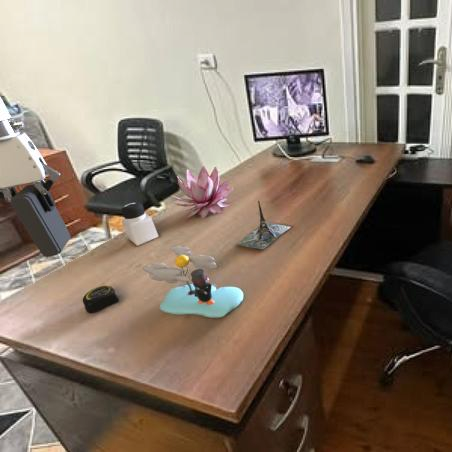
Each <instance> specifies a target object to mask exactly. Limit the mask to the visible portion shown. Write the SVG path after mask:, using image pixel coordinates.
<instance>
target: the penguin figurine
mask: <svg viewBox="0 0 452 452" xmlns="http://www.w3.org/2000/svg"><path fill="white" fill-rule="evenodd" d="M170 251H172V252H173V253H174V255H175V256H176V257H175V259H174V265H176V267H172V266H167V265H166V264H165V263H162V262H159V263H152V264H151V265H145V266H142V270H143V272H145V273H148V274H149V278H150V279H151V280H154V281H157V282H159V281H160V282H162V281H163V282H166V283H168V284H175V283H179V285H181V286H176V287H172V288H171V289H170V290H169V291H168V292H167V294H166V295H165V297H164V299H163V301H162V302H161V304H160V305H159V310H161V311H162V312H164V313H167V314H171V315H176V316H177V315H179V316H181V315H200V316H203V317H206V318H211V319H213V318H215V319H216V318H224V317H225V316H226V315H227V314H229V313H230V312H231V311H233V310H235V309H236V308H237V307H238V306H239V305H240V304H241V303H242V302H243V300H244V292H243V291H242V290H241V289H240V288H239V287H235V286H222V285H221V286H219V288H216V286H217V285H216V284H215V283H211V282H209V281H210V279H209V276H207V275H206V273H205V270H204V269H208V270H215V269H217V268H218V269H222V267H221V266H219V265H217V263H216V262H215V259H214V257H212V256H211V255H203V254H192V252H191V251H190V249H189V247H187V246H181V245H173V246H171V248H170ZM190 262H191V263H192V264H193V266H194V267H195V268H197V269H194V270H191V269H190V268H189V267H188V265H189V264H190ZM177 267H178V268H177ZM185 267H186V271H185V270H184V268H185ZM190 271H191V272H190ZM189 272H190V277H191V278H190V277H189V276H188V275H187V274H188V273H189ZM190 281H191V283H189V282H190ZM183 282H186V284H183Z"/></svg>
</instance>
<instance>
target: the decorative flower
mask: <svg viewBox="0 0 452 452" xmlns="http://www.w3.org/2000/svg"><path fill="white" fill-rule="evenodd" d="M176 177H177V183H178V186H179V188H180V190H181V192H182V193H183V194H184V195H185V196H186V197H188V198H183V197H178V196H175V195H173V194H172V195H171V194H170V196H171V197H172V198H174V199H176V200H178V201H181V202H184V204H183V203H176V202H174V203H173V204H174V205H175V206H180V207H191V208H188V209H186V210H184V212H190V211H192V212H191V213H190V214H189V215H188V216H187V217H186V219H187V218H190V217H193V216H194V215H196V214H197V213H198V216H200V218H201V220H203V219H204V218H206V217H207V216H208V215H209V212H211V213H212V214H214V215H216V214H223V210H222V208H226V207H230V206H232V204H231V203H229V202H226V201H227V200H228V198H226V197H228V196H229V195H230V194H231V193H232V192H233V190H234V189H235V186H233V187H230V188H228V185H229V181H230V180H229V179H227V180H225V181H224V182H222V183H221V184H220V175H219V171H218V168H217V166H214V167H213V170H212V171H211V173H210V174H209V172H208V171H207V168H206V167H205V165H202V166H201V169H200V170H199V173H198V176H197V179H196V178H195V176H194V174H193V173H192V172H191V171H190V170H189V169H187V170H186V183H187V185H186V184H184V182H183V181H182V180H181V179H180V178H179V176H178V175H177V176H176ZM227 188H228V189H227ZM186 203H187V204H186Z"/></svg>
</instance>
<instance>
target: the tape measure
mask: <svg viewBox="0 0 452 452" xmlns="http://www.w3.org/2000/svg"><path fill="white" fill-rule="evenodd" d="M82 303H83V306H84V309H85V312H86V313H87V314H90V315H91V314H96V313H98V312H100V311H102V310H104V309H106V308H108V307H110V306H112V305H115V304H118V303H120V299H119V297H118V295H117V293H116V290H115V289H114V287H112V286H110V285H101V286H97V287H94V288H93V289H91V290H89V291H88V292H86V293H85V295H84V296H83V298H82Z"/></svg>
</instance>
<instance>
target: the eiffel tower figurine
mask: <svg viewBox="0 0 452 452" xmlns="http://www.w3.org/2000/svg"><path fill="white" fill-rule="evenodd" d="M257 200H258V201H257V204H258V211H259V225H258V227H256V228H255V229H254V230H253V231H252V232H250V233H249V234H248V235H246V236H245V237H244V238H243V239H242V240H241V241H239V242H238V243H237V244H236V245H237V246H241V247H247V248H254V249H259V250H265V249H266V248H267V247H269V246H270V245H271V244H273V243H274V242H275V241H276V240H277V239H278V238H279V237H280V236H281V235H283V234H284V233H285V232H286V231H288V230H289V229H291V228H292V227H291V226H288V225H282V224H278V223H275V222H270V221H266V219H265V217H264V213H263V211H262V207H261V201H260V200H259V199H257Z"/></svg>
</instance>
